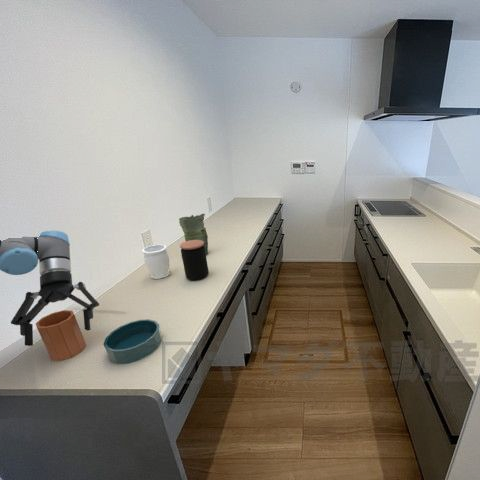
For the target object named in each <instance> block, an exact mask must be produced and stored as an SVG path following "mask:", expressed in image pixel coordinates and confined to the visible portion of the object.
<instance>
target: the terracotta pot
mask: <svg viewBox="0 0 480 480" xmlns="http://www.w3.org/2000/svg"><path fill="white" fill-rule="evenodd" d="M35 327H36V329H37V331H38V333H39V336H40V339H41V340H42V342H43V344H44V347H45V348H46V351H47V353H48V355H49V357H50V360H51V361H53V362H61V361H62V362H63V361H66V360H69V359H71V358H74V357H75V356H77V355H79V354H81V353H82V352H83V351H84V350H85V348H86V347H87V343H86V341H85V339H84V335H83V333H82V331H81V328H80V325H79V323H78V320H77V318H76V315H75V313H74V311H73V310H68V309H63V310H59V311H55V312H51V313H49V314H47V315H45V316H43V317H41V318H40V319H39V320H38V321H37V322H35Z"/></svg>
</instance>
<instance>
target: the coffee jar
mask: <svg viewBox="0 0 480 480" xmlns="http://www.w3.org/2000/svg"><path fill="white" fill-rule="evenodd" d="M179 247H180V254H181V259H182V264H183V269H184V275H185V278H186V279H187V280H188V281H192V282H197V281H201V280H205V278H207V277H208V275H209V265H208V260H207V259H208V258H207V254H206V252H205V247H204V242H203V241H202V240H190V241H183V242H181V243H180V244H179Z"/></svg>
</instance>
